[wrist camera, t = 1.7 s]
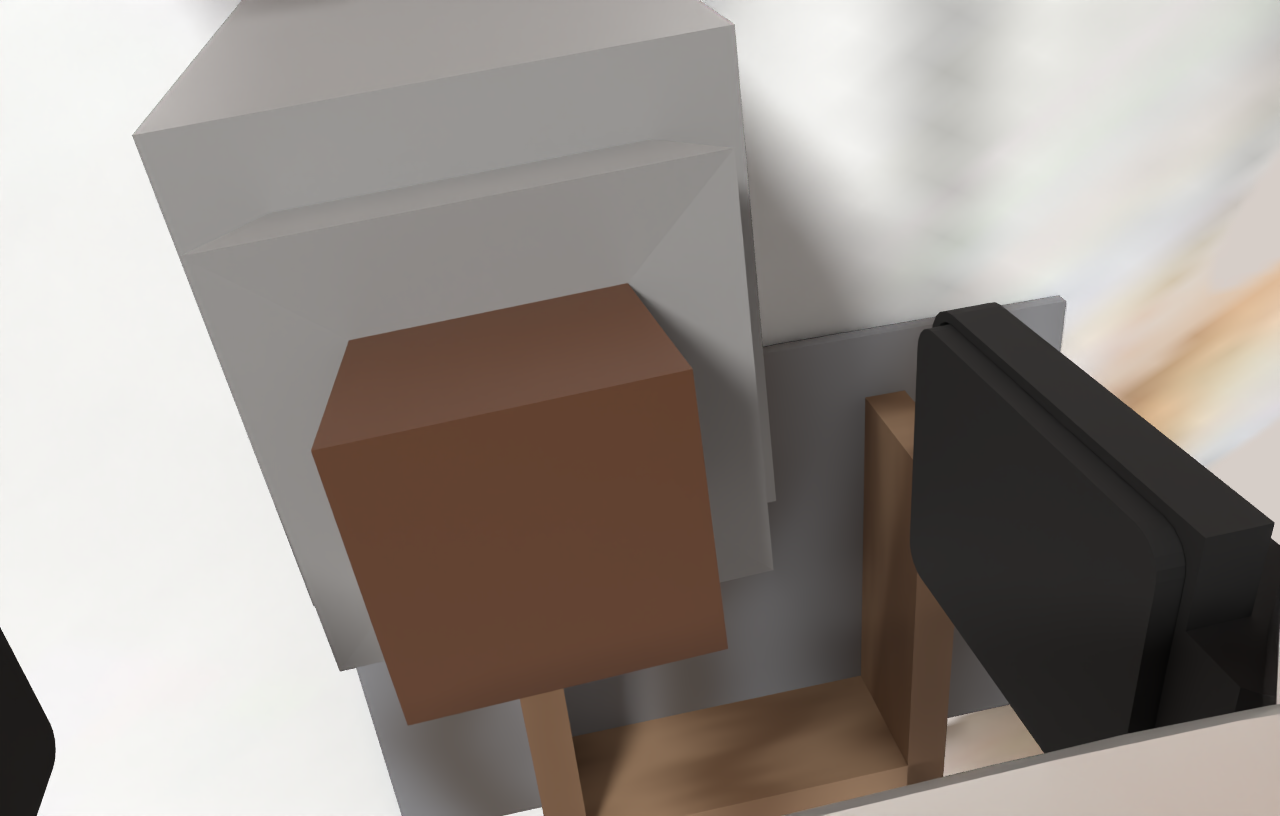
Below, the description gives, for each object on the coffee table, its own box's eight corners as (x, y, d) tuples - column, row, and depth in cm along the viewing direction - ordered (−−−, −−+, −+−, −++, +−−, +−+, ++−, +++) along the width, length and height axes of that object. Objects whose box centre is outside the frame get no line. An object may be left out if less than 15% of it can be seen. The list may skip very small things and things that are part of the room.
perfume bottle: (353, 255, 27) (282, 882, 11) (268, -33, 23) (-3, 301, 8) (619, 203, 27) (896, 729, 12) (574, -86, 24) (885, 127, 8)
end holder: (1058, 295, 31) (1148, 363, 27) (1013, 694, 39) (1077, 789, 35) (286, 429, 28) (268, 525, 25) (408, 826, 37) (408, 944, 33)
